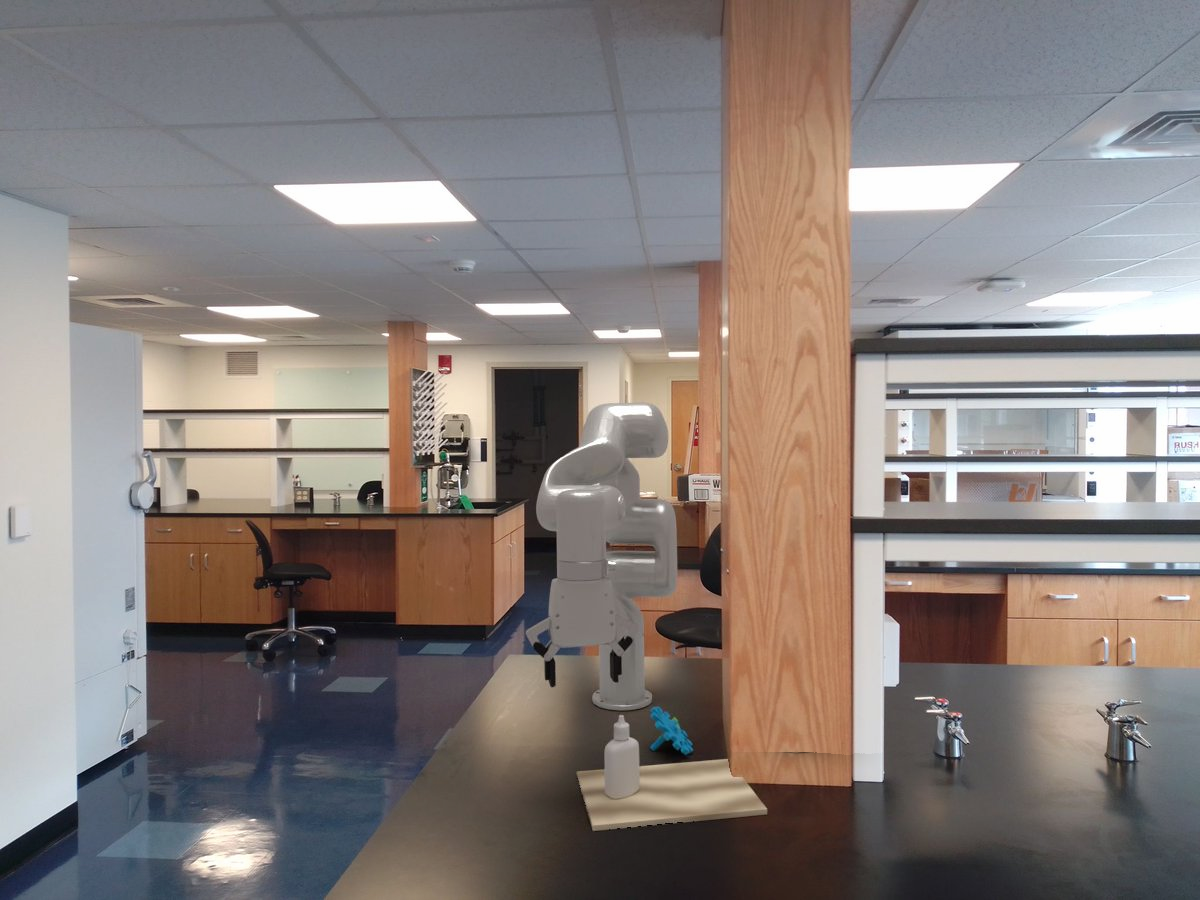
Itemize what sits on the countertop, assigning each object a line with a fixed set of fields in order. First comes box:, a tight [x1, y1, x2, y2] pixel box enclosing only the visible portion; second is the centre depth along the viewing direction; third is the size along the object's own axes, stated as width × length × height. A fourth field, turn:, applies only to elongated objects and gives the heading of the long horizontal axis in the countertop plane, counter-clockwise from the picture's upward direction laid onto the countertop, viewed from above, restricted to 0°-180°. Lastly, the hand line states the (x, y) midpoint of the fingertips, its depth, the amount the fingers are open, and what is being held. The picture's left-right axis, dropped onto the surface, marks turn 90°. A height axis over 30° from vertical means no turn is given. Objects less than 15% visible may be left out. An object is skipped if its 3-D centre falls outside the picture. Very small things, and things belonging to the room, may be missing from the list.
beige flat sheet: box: [576, 758, 768, 832], centre depth 122 cm, size 18×26×1 cm
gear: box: [649, 706, 694, 756], centre depth 139 cm, size 11×6×10 cm
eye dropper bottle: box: [603, 714, 640, 799], centre depth 121 cm, size 4×6×12 cm
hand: (583, 682), depth 120 cm, fingers open, 9 cm apart
